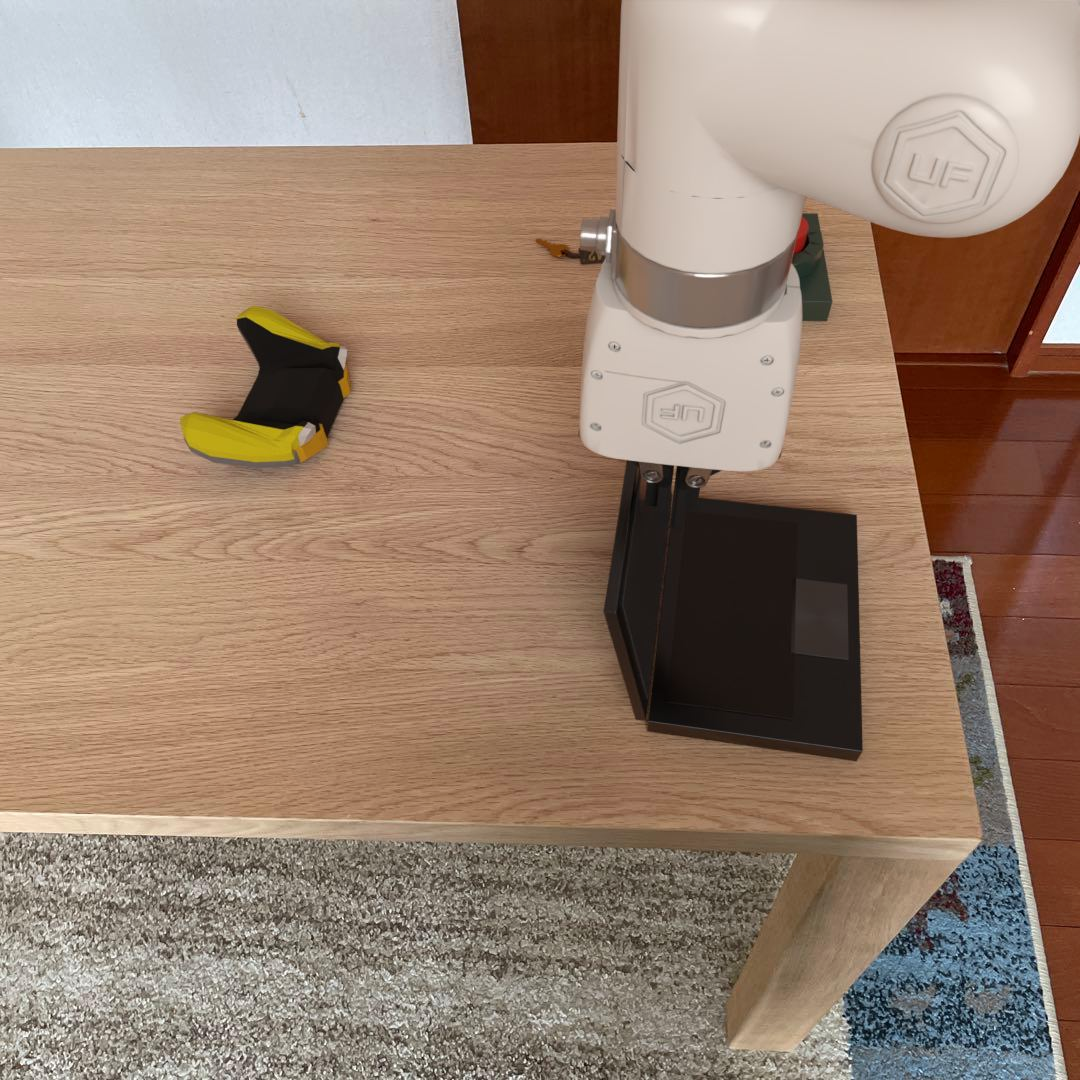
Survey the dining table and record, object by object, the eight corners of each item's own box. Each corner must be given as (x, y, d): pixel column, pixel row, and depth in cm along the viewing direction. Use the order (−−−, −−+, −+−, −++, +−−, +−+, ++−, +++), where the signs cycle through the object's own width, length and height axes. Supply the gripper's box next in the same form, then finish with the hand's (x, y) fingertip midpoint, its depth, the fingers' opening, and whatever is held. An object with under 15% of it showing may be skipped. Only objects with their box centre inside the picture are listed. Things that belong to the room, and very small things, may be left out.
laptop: (851, 527, 68) (857, 513, 66) (856, 761, 58) (863, 751, 56) (672, 507, 69) (673, 493, 68) (646, 731, 59) (648, 720, 58)
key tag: (622, 246, 87) (622, 241, 86) (618, 267, 85) (618, 262, 84) (535, 239, 88) (535, 234, 87) (530, 260, 86) (529, 254, 86)
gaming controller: (190, 478, 73) (310, 494, 71) (164, 431, 68) (292, 448, 67) (260, 345, 81) (369, 358, 80) (241, 295, 77) (356, 308, 75)
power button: (756, 227, 82) (759, 210, 80) (802, 227, 82) (806, 210, 80) (759, 256, 80) (762, 239, 78) (807, 257, 79) (811, 240, 78)
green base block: (726, 232, 87) (731, 195, 84) (813, 233, 87) (821, 195, 83) (732, 320, 80) (739, 283, 77) (827, 321, 80) (837, 284, 77)
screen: (653, 364, 58) (641, 365, 58) (618, 612, 48) (602, 612, 48) (673, 494, 68) (663, 494, 68) (648, 721, 58) (635, 720, 58)
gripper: (513, 297, 39) (534, 546, 54) (885, 328, 37) (798, 578, 52) (544, 188, 43) (555, 448, 58) (879, 211, 41) (800, 474, 56)
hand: (670, 509), depth 55 cm, fingers closed
